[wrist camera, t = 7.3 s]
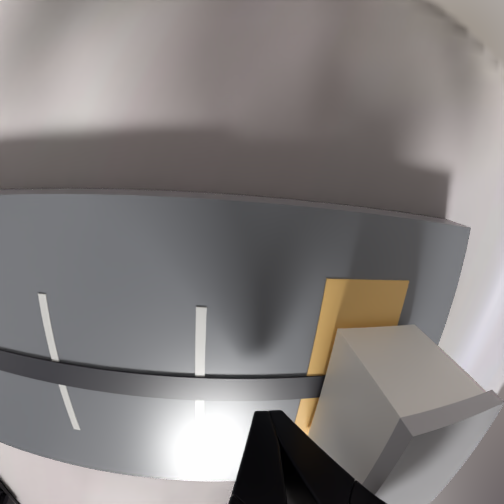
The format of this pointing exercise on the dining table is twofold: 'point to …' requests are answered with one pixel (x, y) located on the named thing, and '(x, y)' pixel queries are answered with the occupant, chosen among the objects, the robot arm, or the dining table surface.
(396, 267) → the mixing board
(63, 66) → the dining table surface
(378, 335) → the fader
